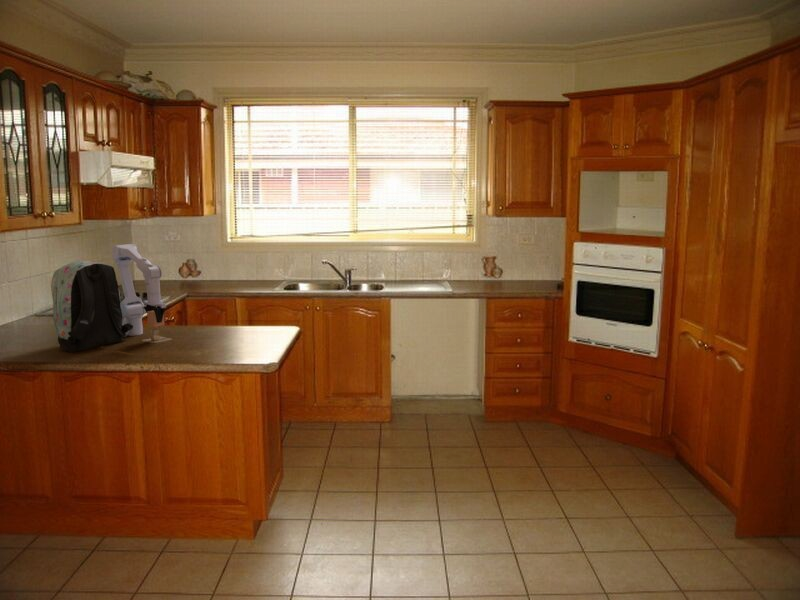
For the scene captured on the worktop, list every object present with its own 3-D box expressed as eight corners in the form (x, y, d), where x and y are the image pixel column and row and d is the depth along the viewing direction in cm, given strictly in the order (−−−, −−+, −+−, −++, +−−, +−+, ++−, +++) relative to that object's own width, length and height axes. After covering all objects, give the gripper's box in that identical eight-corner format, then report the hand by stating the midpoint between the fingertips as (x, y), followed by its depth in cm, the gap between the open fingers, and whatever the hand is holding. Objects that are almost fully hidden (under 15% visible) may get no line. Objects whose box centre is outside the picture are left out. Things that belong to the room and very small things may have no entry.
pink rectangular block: (148, 325, 305) (147, 311, 304) (157, 323, 309) (157, 309, 308) (154, 326, 302) (153, 312, 301) (164, 324, 306) (163, 310, 305)
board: (141, 341, 306) (141, 340, 306) (160, 337, 314) (160, 336, 314) (154, 345, 300) (153, 343, 300) (173, 340, 308) (172, 339, 308)
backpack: (102, 335, 320) (95, 256, 314) (137, 340, 309) (131, 258, 302) (40, 350, 292) (30, 263, 285) (76, 356, 281) (67, 266, 274)
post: (151, 340, 306) (150, 329, 305) (156, 339, 308) (155, 328, 307) (154, 341, 304) (153, 330, 303) (159, 339, 306) (158, 329, 305)
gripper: (170, 292, 302) (172, 322, 304) (152, 290, 310) (154, 318, 312) (157, 295, 296) (159, 324, 298) (138, 292, 304) (140, 320, 307)
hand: (155, 321), depth 305 cm, fingers closed on pink rectangular block, 5 cm apart
